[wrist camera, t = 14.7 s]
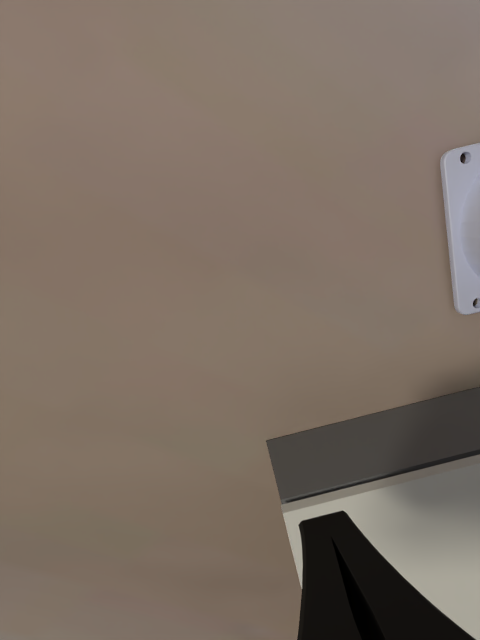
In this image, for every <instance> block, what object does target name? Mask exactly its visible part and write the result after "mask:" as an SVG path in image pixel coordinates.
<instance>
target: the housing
mask: <svg viewBox="0 0 480 640" xmlns="http://www.w3.org/2000/svg"><path fill="white" fill-rule="evenodd" d="M266 442H267V446H268V450H269V454H270V458H271V462H272V466H273V470H274V474H275V478H276V483H277V487H278V491H279V495H280V499H281V503H282V504H286V503H290V502H294V501H298V500H302V499H306V498H310V497H314V496H318V495H322V494H325V493H329V492H333V491H337V490H341V489H345V488H349V487H353V486H357V485H361V484H365V483H369V482H373V481H377V480H381V479H385V478H388V477H392V476H396V475H400V474H404V473H408V472H412V471H416V470H420V469H424V468H428V467H432V466H436V465H440V464H444V463H447V462H451V461H455V460H459V459H463V458H467V457H471V456H475V455H479V454H480V387H477V388H473V389H469V390H466V391H462V392H458V393H454V394H450V395H446V396H442V397H438V398H434V399H430V400H426V401H422V402H418V403H414V404H410V405H406V406H402V407H398V408H394V409H390V410H386V411H382V412H378V413H374V414H370V415H366V416H362V417H359V418H355V419H351V420H347V421H343V422H339V423H335V424H331V425H327V426H323V427H319V428H315V429H311V430H307V431H303V432H299V433H295V434H291V435H287V436H283V437H279V438H275V439H271V440H267V441H266Z"/></svg>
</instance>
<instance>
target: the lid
mask: <svg viewBox="0 0 480 640" xmlns="http://www.w3.org/2000/svg"><path fill="white" fill-rule="evenodd" d="M281 508H282V512H283V516H284V520H285V524H286V528H287V532H288V536H289V540H290V544H291V548H292V552H293V556H294V560H295V564H296V568H297V572H298V576H299V580H300V584H301V588H302V571H303V560H302V542H301V535H300V530H299V526H298V525H299V524H300V522H301V521H303V520H307V519H311V518H314V517H318V516H322V515H326V514H330V513H334V512H338V511H342V510H343V511H344V512H346V513H347V514H348V515H349V517H350V518H351V520H352V521H353V522H354V523H355V525H356V526H357V527H358V528H359V530H360V531H361V532H362V533H363V535H364V536H365V537H366V538H367V539H368V540H369V541H370V543H371V544H372V545H373V546H374V547H375V548H376V549H377V550H378V551H379V553H380V554H381V555H382V556H383V557H384V558H385V559H386V560H387V561H388V562H389V563H390V564H391V565H392V566H393V567H394V568H395V569H396V570H397V571H398V572H399V573H400V574H401V575H402V576H403V577H404V578H405V579H406V580H407V581H408V582H409V583H410V584H411V585H412V586H413V587H414V588H416V589H417V590H418V591H419V592H420V593H421V594H422V595H423V596H424V597H425V598H426V599H427V600H429V601H430V602H431V603H432V604H433V605H434V606H435V607H437V608H438V609H439V610H440V611H441V612H442V613H444V614H445V615H446V616H447V617H448V618H450V619H451V620H452V621H453V622H454V623H456V624H457V625H458V626H459V627H461V628H462V629H463V630H464V631H466V632H467V633H468V634H469V635H471V636H472V637H473V638H475V639H476V640H480V454H479V455H475V456H471V457H467V458H463V459H459V460H455V461H451V462H447V463H444V464H440V465H436V466H432V467H428V468H424V469H420V470H416V471H412V472H408V473H404V474H400V475H396V476H392V477H388V478H385V479H381V480H377V481H373V482H369V483H365V484H361V485H357V486H353V487H349V488H345V489H341V490H337V491H333V492H329V493H325V494H322V495H318V496H314V497H310V498H306V499H302V500H298V501H294V502H290V503H286V504H282V505H281Z"/></svg>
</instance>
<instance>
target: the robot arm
mask: <svg viewBox="0 0 480 640" xmlns="http://www.w3.org/2000/svg"><path fill="white" fill-rule="evenodd" d="M462 153H463V154H464V155H465V157H466V160H465V162H464V164H463V163H462V162H461V161H460V156H461V154H462ZM440 166H441V176H442V187H443V197H444V207H445V217H446V227H447V237H448V247H449V257H450V267H451V277H452V287H453V297H454V307H455V310H456V311H457V312H458V313H461V314H464V315H469V314H473V313H477V312H480V143H476V144H472V145H468V146H464V147H460V148H456V149H452V150H449V151H447V152H445V153H444V154H443V155H442V158H441V161H440ZM476 298H477V300H478V302H477V304H476V305H475V306H473V301H474V300H475V299H476ZM298 526H299V530H300V535H301V542H302V560H303V571H302V598H301V610H300V621H299V631H298V639H297V640H476V639H475V638H473V637H472V636H471V635H469V634H468V633H467V632H466V631H464V630H463V629H462V628H461V627H459V626H458V625H457V624H456V623H454V622H453V621H452V620H451V619H450V618H448V617H447V616H446V615H445V614H444V613H442V612H441V611H440V610H439V609H438V608H437V607H435V606H434V605H433V604H432V603H431V602H430V601H429V600H427V599H426V598H425V597H424V596H423V595H422V594H421V593H420V592H419V591H418V590H417V589H416V588H414V587H413V586H412V585H411V584H410V583H409V582H408V581H407V580H406V579H405V578H404V577H403V576H402V575H401V574H400V573H399V572H398V571H397V570H396V569H395V568H394V567H393V566H392V565H391V564H390V563H389V562H388V561H387V560H386V559H385V558H384V557H383V556H382V555H381V554H380V553H379V551H378V550H377V549H376V548H375V547H374V546H373V545H372V544H371V543H370V541H369V540H368V539H367V538H366V537H365V536H364V535H363V533H362V532H361V531H360V530H359V528H358V527H357V526H356V525H355V523H354V522H353V521H352V520H351V518H350V517H349V515H348V514H347V513H346V512H344V511H343V510H342V511H338V512H334V513H330V514H326V515H322V516H318V517H314V518H311V519H307V520H303V521H301V522H300V524H299V525H298Z"/></svg>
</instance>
